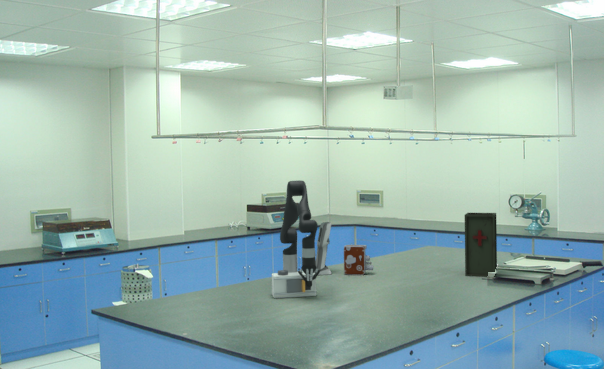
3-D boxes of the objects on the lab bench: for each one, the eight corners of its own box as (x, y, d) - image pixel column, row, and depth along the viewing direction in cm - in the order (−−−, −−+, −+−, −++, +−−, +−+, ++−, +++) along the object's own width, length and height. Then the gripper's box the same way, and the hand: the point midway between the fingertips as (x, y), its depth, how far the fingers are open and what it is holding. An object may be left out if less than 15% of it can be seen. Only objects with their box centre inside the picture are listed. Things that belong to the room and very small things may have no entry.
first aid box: (465, 275, 365) (464, 214, 364) (468, 271, 382) (467, 212, 381) (495, 277, 358) (494, 215, 357) (497, 272, 375) (496, 212, 374)
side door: (286, 292, 312) (286, 279, 312) (304, 291, 314) (304, 278, 314) (288, 294, 307) (287, 281, 307) (305, 293, 309) (305, 280, 309)
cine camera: (372, 275, 372) (372, 245, 371) (343, 275, 376) (343, 245, 375) (373, 273, 381) (373, 244, 380) (345, 272, 385) (344, 243, 384)
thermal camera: (333, 274, 378) (332, 223, 378) (314, 275, 376) (313, 223, 376) (329, 271, 390) (328, 221, 389) (311, 272, 388) (310, 222, 387)
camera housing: (272, 294, 321) (271, 270, 321) (313, 292, 325) (312, 268, 325) (274, 298, 310) (273, 273, 310) (316, 296, 314) (316, 271, 314)
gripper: (319, 254, 315) (319, 285, 315) (295, 255, 312) (296, 286, 313) (321, 256, 307) (322, 287, 308) (298, 257, 305) (298, 289, 305)
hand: (309, 287), depth 310 cm, fingers closed
